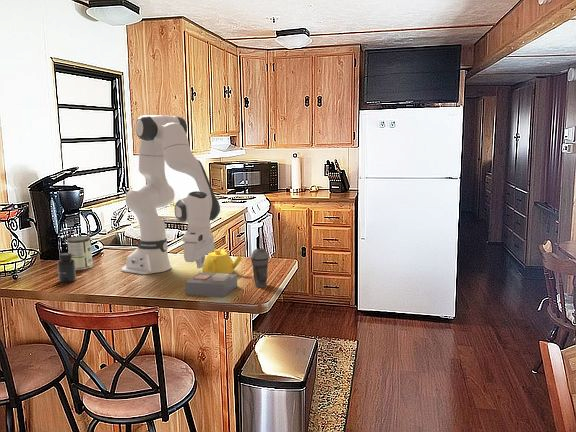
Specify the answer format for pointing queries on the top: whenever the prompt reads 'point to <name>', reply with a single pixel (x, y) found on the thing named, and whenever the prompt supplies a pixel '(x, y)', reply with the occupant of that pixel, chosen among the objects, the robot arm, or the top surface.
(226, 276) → the white key
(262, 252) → the beverage cup
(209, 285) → the key console
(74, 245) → the coffee can
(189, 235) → the robot arm
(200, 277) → the terracotta key
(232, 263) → the teapot
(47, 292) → the top surface
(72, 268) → the supplement bottle
